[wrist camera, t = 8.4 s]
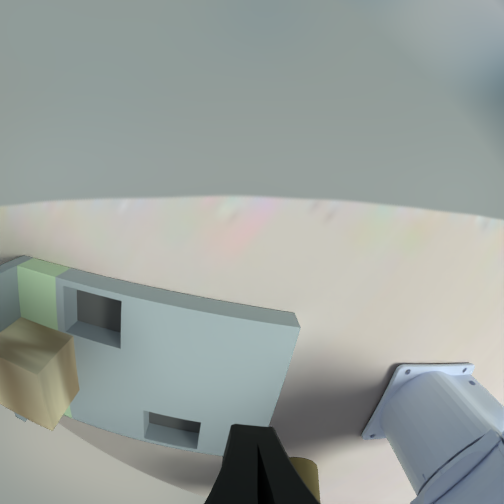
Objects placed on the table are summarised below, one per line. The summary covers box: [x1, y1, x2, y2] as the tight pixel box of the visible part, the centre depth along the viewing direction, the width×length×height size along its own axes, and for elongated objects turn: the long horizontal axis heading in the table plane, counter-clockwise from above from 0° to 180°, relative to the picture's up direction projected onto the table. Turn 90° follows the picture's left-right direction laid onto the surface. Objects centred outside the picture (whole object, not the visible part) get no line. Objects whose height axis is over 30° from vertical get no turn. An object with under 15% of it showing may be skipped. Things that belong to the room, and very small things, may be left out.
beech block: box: [0, 317, 80, 431], centre depth 14 cm, size 5×5×5 cm
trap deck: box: [0, 255, 301, 456], centre depth 16 cm, size 19×12×4 cm, turn 79°
